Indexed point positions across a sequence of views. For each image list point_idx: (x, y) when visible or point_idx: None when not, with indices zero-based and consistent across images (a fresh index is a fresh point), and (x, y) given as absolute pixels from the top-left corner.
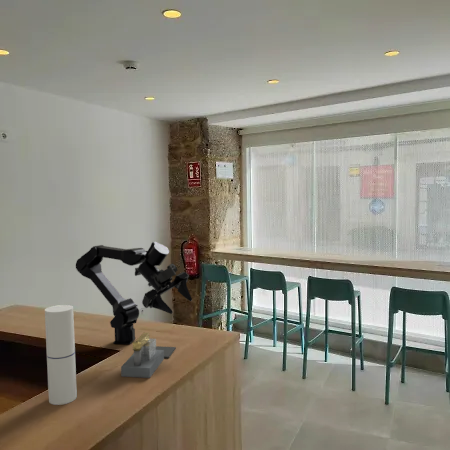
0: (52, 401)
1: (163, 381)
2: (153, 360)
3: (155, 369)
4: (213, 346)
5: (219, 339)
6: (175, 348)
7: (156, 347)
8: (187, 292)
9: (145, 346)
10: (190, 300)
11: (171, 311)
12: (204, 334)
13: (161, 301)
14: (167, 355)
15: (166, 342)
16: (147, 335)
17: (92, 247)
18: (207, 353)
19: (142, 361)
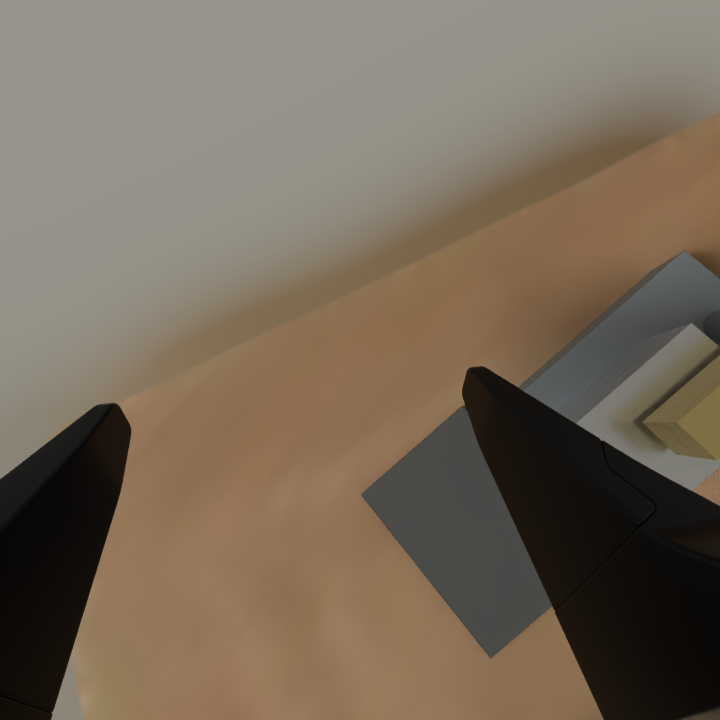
0: None
1: (615, 207)
2: (616, 326)
3: (590, 325)
4: (215, 388)
5: (135, 443)
6: (365, 491)
7: (443, 569)
8: (7, 502)
9: (710, 343)
10: (124, 424)
11: (486, 370)
12: (132, 559)
13: (674, 512)
14: (459, 423)
15: (344, 615)
16: (703, 394)
17: None
18: (289, 337)
19: None
